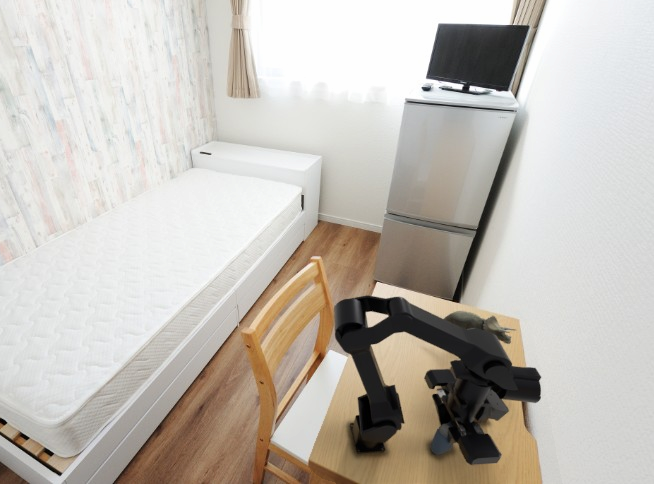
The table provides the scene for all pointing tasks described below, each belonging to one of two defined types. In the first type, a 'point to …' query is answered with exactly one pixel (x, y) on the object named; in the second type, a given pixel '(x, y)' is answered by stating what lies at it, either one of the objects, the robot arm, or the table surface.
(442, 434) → the vaping device
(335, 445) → the table surface
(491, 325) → the toy dinosaur
